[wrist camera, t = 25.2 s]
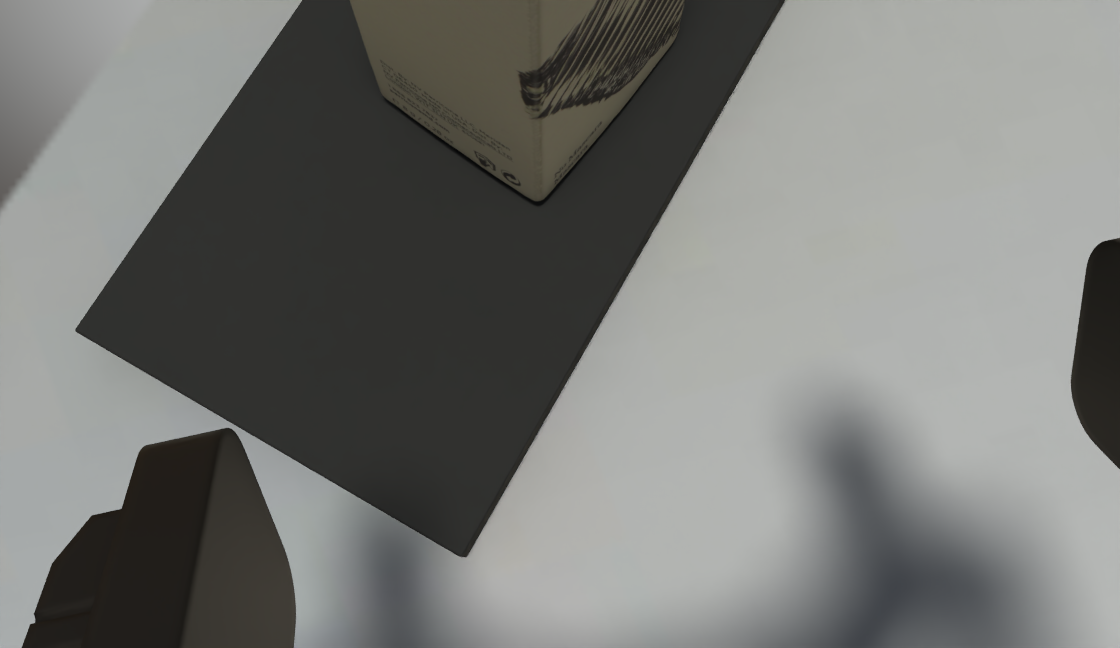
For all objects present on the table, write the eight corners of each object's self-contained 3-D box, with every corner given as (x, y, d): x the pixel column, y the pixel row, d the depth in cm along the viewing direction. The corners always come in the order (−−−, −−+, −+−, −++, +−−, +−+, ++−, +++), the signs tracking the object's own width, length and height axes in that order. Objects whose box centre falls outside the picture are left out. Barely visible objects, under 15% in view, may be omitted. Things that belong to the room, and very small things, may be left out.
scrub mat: (466, 558, 21) (461, 558, 20) (95, 341, 22) (73, 330, 21) (894, -193, 25) (908, -223, 24) (565, -347, 26) (565, -383, 25)
